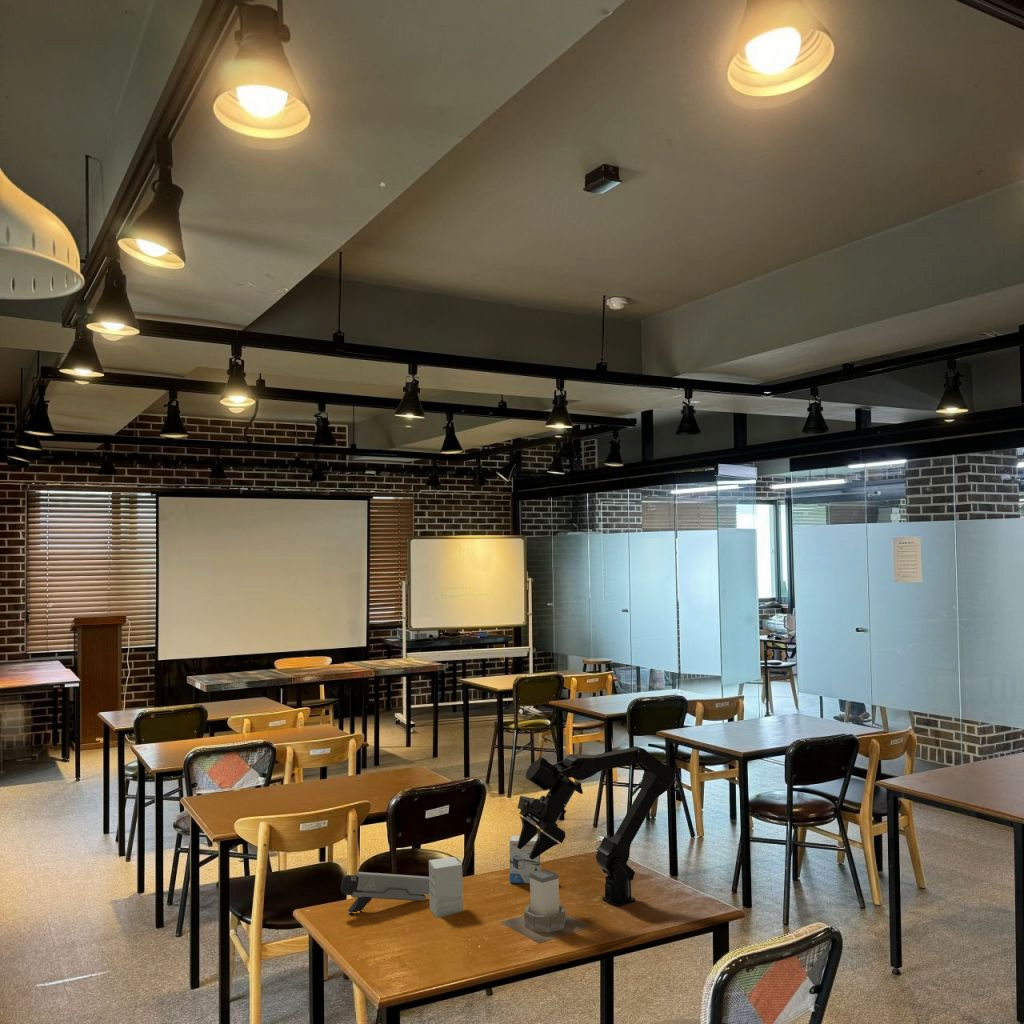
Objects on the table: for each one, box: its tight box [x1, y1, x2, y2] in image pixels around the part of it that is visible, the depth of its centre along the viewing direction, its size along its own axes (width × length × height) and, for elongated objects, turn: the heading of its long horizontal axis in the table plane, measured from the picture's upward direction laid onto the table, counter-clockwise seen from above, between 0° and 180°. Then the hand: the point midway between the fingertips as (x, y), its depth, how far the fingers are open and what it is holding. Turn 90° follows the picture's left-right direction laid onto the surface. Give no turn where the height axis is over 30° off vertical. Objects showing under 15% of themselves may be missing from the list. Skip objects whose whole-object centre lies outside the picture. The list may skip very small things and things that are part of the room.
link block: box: [529, 868, 560, 916], centre depth 215 cm, size 5×5×12 cm
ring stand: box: [499, 904, 592, 944], centre depth 215 cm, size 16×16×5 cm
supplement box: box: [428, 856, 464, 919], centre depth 228 cm, size 7×7×13 cm
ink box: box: [509, 835, 541, 884], centre depth 250 cm, size 9×5×12 cm, turn 84°
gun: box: [340, 871, 429, 913], centre depth 232 cm, size 2×25×10 cm, turn 117°
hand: (524, 853), depth 226 cm, fingers open, 9 cm apart
